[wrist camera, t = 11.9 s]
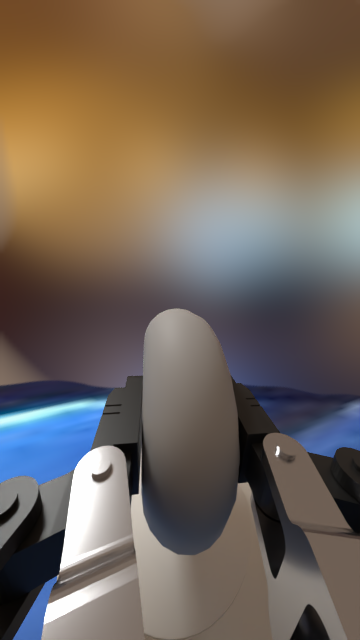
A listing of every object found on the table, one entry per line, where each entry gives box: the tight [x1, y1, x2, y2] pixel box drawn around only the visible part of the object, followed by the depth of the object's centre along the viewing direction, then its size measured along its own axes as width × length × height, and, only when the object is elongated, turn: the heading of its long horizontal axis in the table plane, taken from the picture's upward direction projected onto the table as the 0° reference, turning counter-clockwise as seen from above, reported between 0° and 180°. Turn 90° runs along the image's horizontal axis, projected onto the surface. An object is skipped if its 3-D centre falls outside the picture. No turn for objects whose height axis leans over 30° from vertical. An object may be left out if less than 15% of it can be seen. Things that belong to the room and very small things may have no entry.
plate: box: [57, 448, 273, 640], centre depth 13 cm, size 13×13×1 cm
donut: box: [141, 308, 240, 555], centre depth 10 cm, size 10×4×10 cm, turn 9°
